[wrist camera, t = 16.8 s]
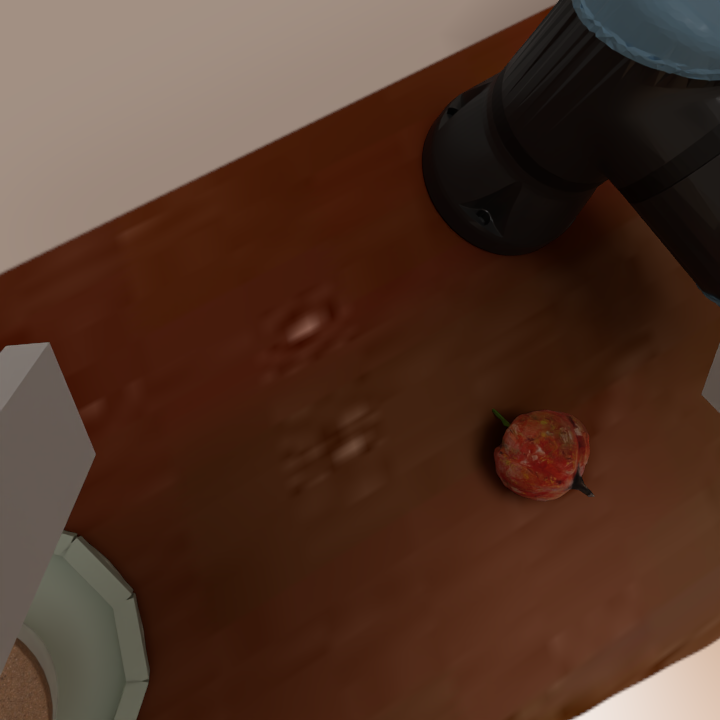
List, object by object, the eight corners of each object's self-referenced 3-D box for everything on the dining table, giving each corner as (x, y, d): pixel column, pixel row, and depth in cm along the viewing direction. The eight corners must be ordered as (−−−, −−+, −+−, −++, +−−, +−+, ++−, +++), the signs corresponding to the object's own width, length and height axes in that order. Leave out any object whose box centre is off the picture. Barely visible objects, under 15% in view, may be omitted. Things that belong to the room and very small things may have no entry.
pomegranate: (449, 449, 47) (530, 547, 41) (472, 387, 42) (567, 487, 36) (514, 423, 51) (598, 510, 45) (542, 363, 46) (640, 451, 40)
